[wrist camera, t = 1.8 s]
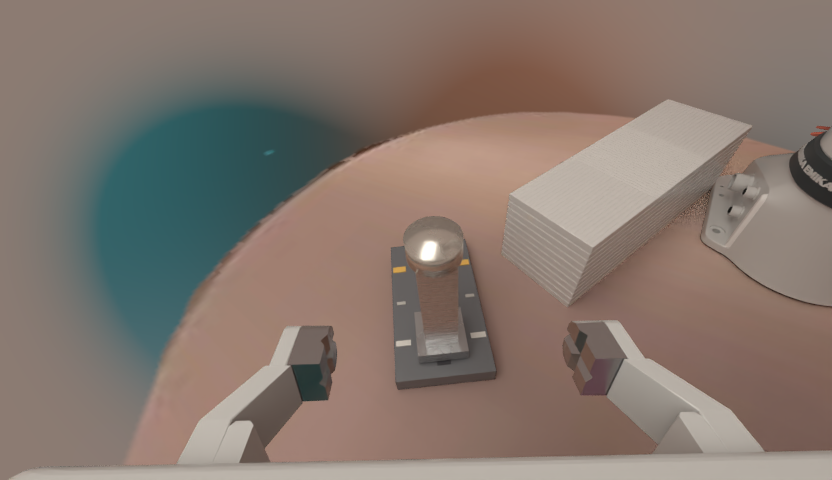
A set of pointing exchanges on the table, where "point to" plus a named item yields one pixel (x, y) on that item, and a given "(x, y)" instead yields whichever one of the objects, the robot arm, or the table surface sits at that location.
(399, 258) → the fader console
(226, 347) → the table surface
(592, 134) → the table surface
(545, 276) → the stack of papers
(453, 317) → the lever
